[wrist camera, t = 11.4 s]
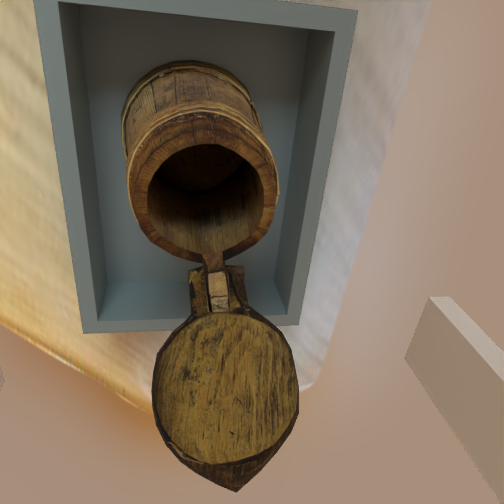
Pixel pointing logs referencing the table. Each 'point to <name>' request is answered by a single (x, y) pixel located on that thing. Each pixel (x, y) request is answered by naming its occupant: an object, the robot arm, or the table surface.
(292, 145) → the bin
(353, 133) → the table surface
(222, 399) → the wooden mug
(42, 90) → the table surface
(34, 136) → the table surface
